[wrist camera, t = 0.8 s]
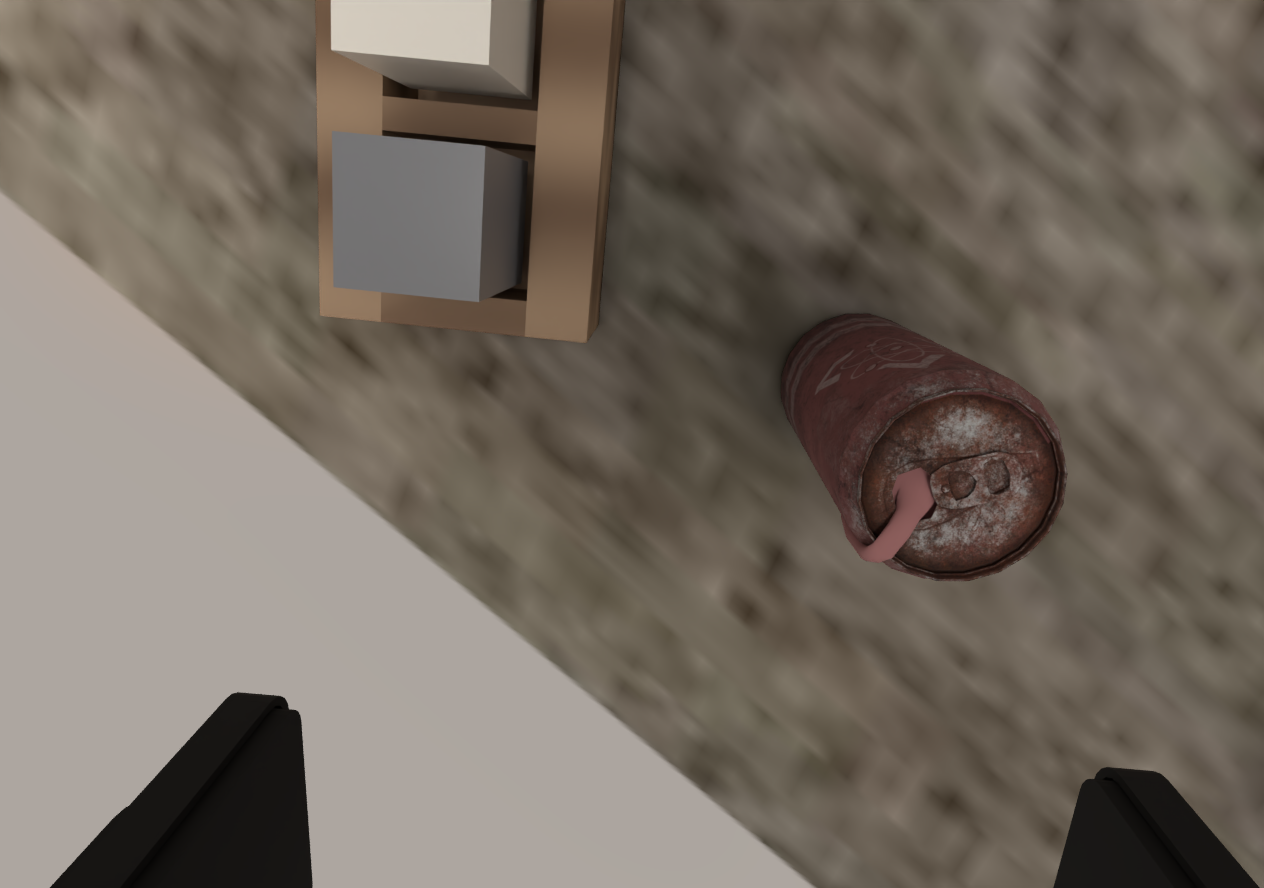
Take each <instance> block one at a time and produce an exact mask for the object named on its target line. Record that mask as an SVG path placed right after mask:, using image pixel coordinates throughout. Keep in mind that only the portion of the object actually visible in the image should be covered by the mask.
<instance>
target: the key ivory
mask: <svg viewBox="0 0 1264 888" xmlns="http://www.w3.org/2000/svg"><path fill="white" fill-rule="evenodd" d="M536 12H537V0H331V50H332V51H334V52H336V53H338V54H340V55H343V56H345V57H347V58H349V59H351V60H353V61H355V62H357V63H359V64H361V65H363V66H365V67H367V68H370V69H372V70H374V71H376V72H378V73H380V74H382V75H384V76H386V77H388V78H390V79H392V80H394V81H397V82H399V83H401V84H403V85H405V86H407V87H409V88H412V89H423V90H433V91H443V92H454V93H464V94H474V95H485V96H495V97H505V98H516V99H526V100H532V84H533V66H534V48H535V30H536Z"/></svg>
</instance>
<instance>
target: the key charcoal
mask: <svg viewBox="0 0 1264 888" xmlns="http://www.w3.org/2000/svg"><path fill="white" fill-rule="evenodd" d="M527 174H528V161H525V160H523V159H520V158H517V157H514V156H512V155H509V154H506V153H503V152H501V151H498V150H495V149H492V148H490V147H487V146H481V145H471V144H461V143H451V142H441V141H430V140H420V139H410V138H400V137H390V136H380V135H369V134H359V133H349V132H339V131H332V190H333V287H336V288H346V289H355V290H365V291H375V292H385V293H395V294H404V295H414V296H424V297H434V298H444V299H453V300H463V301H473V302H480V301H482V300H485V299H487V298H489V297H491V296H493V295H496V294H498V293H500V292H502V291H504V290H507V289H509V288H511V287H513V286H516V285H518V284H520V283H521V282H522V264H523V246H524V228H525V210H526V192H527Z"/></svg>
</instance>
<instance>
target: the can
mask: <svg viewBox="0 0 1264 888" xmlns="http://www.w3.org/2000/svg"><path fill="white" fill-rule="evenodd" d="M781 399H782V402H783V406H784V409H785V412H786V416H787V418H788V420H789V422H790V424H791V425H792V427H793V429H794V431H795V433H796V434H797V436H798V438H799V440H800V441H801V443H802V445H803V447H804V449H805V450H806V452H807V454H808V456H809V457H810V459H811V461H812V463H813V465H814V466H815V468H816V470H817V472H818V473H819V475H820V477H821V479H822V481H823V482H824V484H825V486H826V488H827V489H828V491H829V493H830V495H831V497H832V498H833V500H834V502H835V504H836V505H837V507H838V509H839V511H840V513H841V514H842V515H841V518H842V522H843V526H844V530H845V534H846V537H847V539H848V540H849V542H850V543H851V545H852V546H853V547H854V549H855V550H856V551H857V553H858V554H859V556H860V557H861V558H862V559H863V560H865V561H870V562H878V563H879V562H883V563H885V564H886V565H888V566H889V567H890V568H892V569H895V570H898V571H901V572H905V573H908V574H911V575H914V576H918V577H921V578H929V579H932V580H935V581H970V580H974V579H977V578H981V577H985V576H988V575H992V574H995V573H999V572H1001V571H1002V570H1004V569H1006V568H1007V567H1009V566H1011V565H1012V564H1014V563H1016V562H1017V561H1019V560H1021V559H1022V558H1024V557H1026V556H1027V555H1028V554H1029V553H1030V552H1031V551H1032V550H1033V549H1034V548H1035V547H1036V546H1037V545H1038V544H1039V542H1040V541H1041V540H1042V539H1043V538H1044V537H1045V536H1046V535H1047V534H1048V533H1049V532H1050V529H1051V527H1052V525H1053V523H1054V521H1055V519H1056V517H1057V515H1058V513H1059V511H1060V509H1061V507H1062V505H1063V502H1064V494H1065V487H1066V480H1067V469H1066V464H1065V457H1064V453H1063V448H1062V443H1061V439H1060V434H1059V429H1058V427H1057V426H1056V424H1055V423H1054V421H1053V420H1052V418H1051V417H1050V415H1049V413H1048V412H1047V410H1046V409H1045V407H1044V406H1043V404H1042V402H1041V401H1040V400H1039V399H1037V398H1036V397H1035V396H1033V395H1032V394H1031V393H1029V392H1028V391H1027V390H1025V389H1024V388H1023V387H1021V386H1020V385H1019V384H1017V383H1016V382H1015V381H1013V380H1011V379H1009V378H1007V377H1005V376H1003V375H1001V374H999V373H997V372H995V371H993V370H991V369H989V368H987V367H985V366H982V365H980V364H978V363H976V362H974V361H972V360H970V359H968V358H966V357H964V356H962V355H960V354H958V353H956V352H954V351H952V350H950V349H948V348H946V347H944V346H942V345H940V344H937V343H935V342H933V341H931V340H929V339H927V338H925V337H923V336H921V335H919V334H917V333H915V332H913V331H911V330H909V329H907V328H905V327H903V326H901V325H899V324H897V323H894V322H892V321H890V320H887V319H884V318H881V317H877V316H874V315H871V314H844V315H841V316H838V317H835V318H832V319H829V320H826V321H823V322H822V323H820V324H819V325H818V326H816V327H815V328H813V329H812V330H810V331H809V332H808V333H806V334H805V335H804V336H803V337H802V338H801V339H800V341H799V342H798V343H797V345H796V346H795V347H794V349H793V350H792V351H791V352H790V354H789V356H788V359H787V362H786V365H785V367H784V370H783V373H782V380H781Z"/></svg>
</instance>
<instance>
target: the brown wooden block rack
mask: <svg viewBox="0 0 1264 888" xmlns="http://www.w3.org/2000/svg"><path fill="white" fill-rule="evenodd" d="M315 8H316V78H317V149H318V219H319V290H320V316H329V317H339V318H349V319H358V320H368V321H378V322H387V323H397V324H407V325H417V326H426V327H436V328H446V329H455V330H465V331H475V332H485V333H494V334H504V335H514V336H523V337H533V338H543V339H553V340H562V341H572V342H582V343H587V341H588V340H589V338H590V337H591V335H592V334H593V332H594V331H595V329H596V328H597V326H598V324H599V312H600V300H601V288H602V276H603V264H604V252H605V240H606V228H607V216H608V204H609V192H610V180H611V168H612V156H613V144H614V132H615V120H616V108H617V96H618V84H619V72H620V60H621V48H622V36H623V24H624V12H625V0H537V12H536V30H535V48H534V66H533V84H532V100H526V99H516V98H505V97H495V96H485V95H474V94H464V93H454V92H443V91H433V90H423V89H412V88H409V87H407V86H405V85H403V84H401V83H399V82H397V81H394V80H392V79H390V78H388V77H386V76H384V75H382V74H380V73H378V72H376V71H374V70H372V69H370V68H367V67H365V66H363V65H361V64H359V63H357V62H355V61H353V60H351V59H349V58H347V57H345V56H343V55H340V54H338V53H336V52H334V51H332V50H331V0H315ZM332 131H339V132H349V133H359V134H369V135H380V136H390V137H400V138H410V139H420V140H430V141H441V142H451V143H461V144H471V145H481V146H487V147H490V148H492V149H495V150H498V151H501V152H503V153H506V154H509V155H512V156H514V157H517V158H520V159H523V160H525V161H528V174H527V192H526V210H525V228H524V246H523V264H522V282H521V283H520V284H518V285H516V286H513V287H511V288H509V289H507V290H504V291H502V292H500V293H498V294H496V295H493V296H491V297H489V298H487V299H485V300H482V301H480V302H473V301H463V300H453V299H444V298H434V297H424V296H414V295H404V294H395V293H385V292H375V291H365V290H355V289H346V288H336V287H333V190H332Z"/></svg>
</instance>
